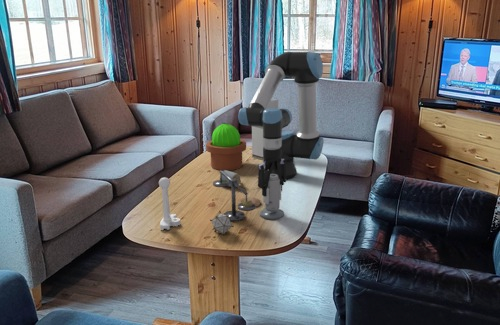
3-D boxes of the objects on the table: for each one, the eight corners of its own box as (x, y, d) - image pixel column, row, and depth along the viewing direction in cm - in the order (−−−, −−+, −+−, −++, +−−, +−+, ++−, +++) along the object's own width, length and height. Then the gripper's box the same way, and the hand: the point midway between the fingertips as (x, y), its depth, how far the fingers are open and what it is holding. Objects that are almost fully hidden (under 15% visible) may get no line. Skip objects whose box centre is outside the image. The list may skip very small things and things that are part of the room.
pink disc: (251, 197, 209) (251, 195, 209) (265, 204, 201) (265, 202, 201) (233, 203, 203) (233, 200, 203) (247, 209, 196) (247, 207, 195)
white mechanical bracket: (166, 218, 188) (162, 173, 182) (183, 219, 187) (181, 173, 181) (157, 230, 177) (154, 182, 171) (176, 231, 176) (173, 182, 171)
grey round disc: (273, 208, 197) (273, 206, 197) (289, 215, 189) (289, 213, 189) (255, 214, 191) (255, 211, 191) (270, 221, 183) (270, 219, 183)
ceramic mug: (233, 189, 220) (232, 174, 217) (219, 186, 224) (219, 172, 222) (244, 183, 228) (244, 169, 226) (231, 181, 232) (231, 166, 230)
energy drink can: (262, 208, 190) (262, 175, 186) (274, 205, 193) (274, 172, 189) (270, 213, 186) (270, 179, 181) (282, 210, 189) (282, 176, 184)
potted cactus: (232, 174, 242) (231, 128, 235) (199, 168, 253) (197, 124, 246) (253, 163, 260) (252, 121, 253) (222, 158, 271) (220, 117, 264)
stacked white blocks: (264, 160, 265) (264, 101, 255) (252, 157, 273) (251, 99, 263) (278, 157, 273) (278, 99, 262) (265, 153, 280) (265, 97, 270)
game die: (220, 243, 174) (207, 229, 167) (215, 228, 180) (203, 214, 174) (240, 232, 173) (228, 218, 166) (235, 217, 179) (223, 202, 173)
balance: (209, 210, 195) (207, 170, 190) (226, 205, 200) (225, 166, 195) (243, 230, 176) (242, 185, 171) (261, 224, 181) (260, 180, 176)
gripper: (259, 153, 173) (260, 209, 180) (296, 145, 184) (295, 198, 191) (247, 149, 179) (248, 203, 186) (283, 141, 190) (283, 193, 197)
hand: (272, 200), depth 188 cm, fingers closed on energy drink can, 6 cm apart
